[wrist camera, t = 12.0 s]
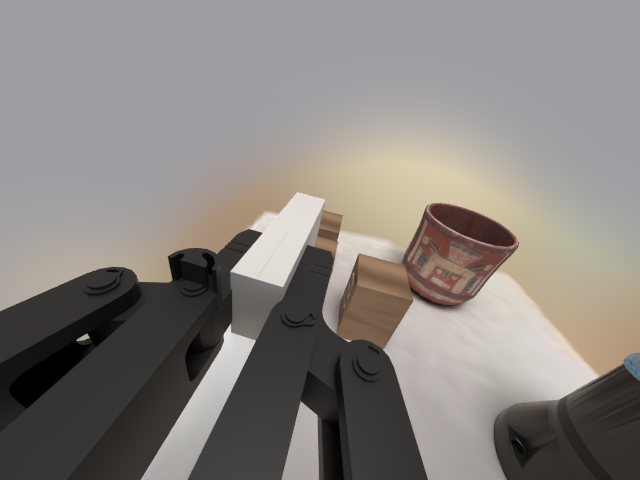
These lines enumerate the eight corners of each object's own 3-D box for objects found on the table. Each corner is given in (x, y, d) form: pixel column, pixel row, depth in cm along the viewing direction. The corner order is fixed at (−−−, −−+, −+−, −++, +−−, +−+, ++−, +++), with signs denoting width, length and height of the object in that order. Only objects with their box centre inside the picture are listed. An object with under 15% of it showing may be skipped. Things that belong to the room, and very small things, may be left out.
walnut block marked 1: (298, 249, 57) (306, 206, 50) (330, 258, 56) (342, 215, 50) (289, 269, 50) (297, 222, 43) (325, 279, 49) (339, 233, 43)
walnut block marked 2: (340, 301, 45) (357, 253, 39) (380, 312, 45) (404, 265, 38) (335, 335, 38) (356, 284, 32) (383, 349, 38) (413, 300, 32)
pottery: (386, 256, 62) (415, 195, 52) (447, 268, 63) (486, 211, 53) (403, 308, 47) (447, 237, 37) (482, 323, 48) (545, 257, 39)
